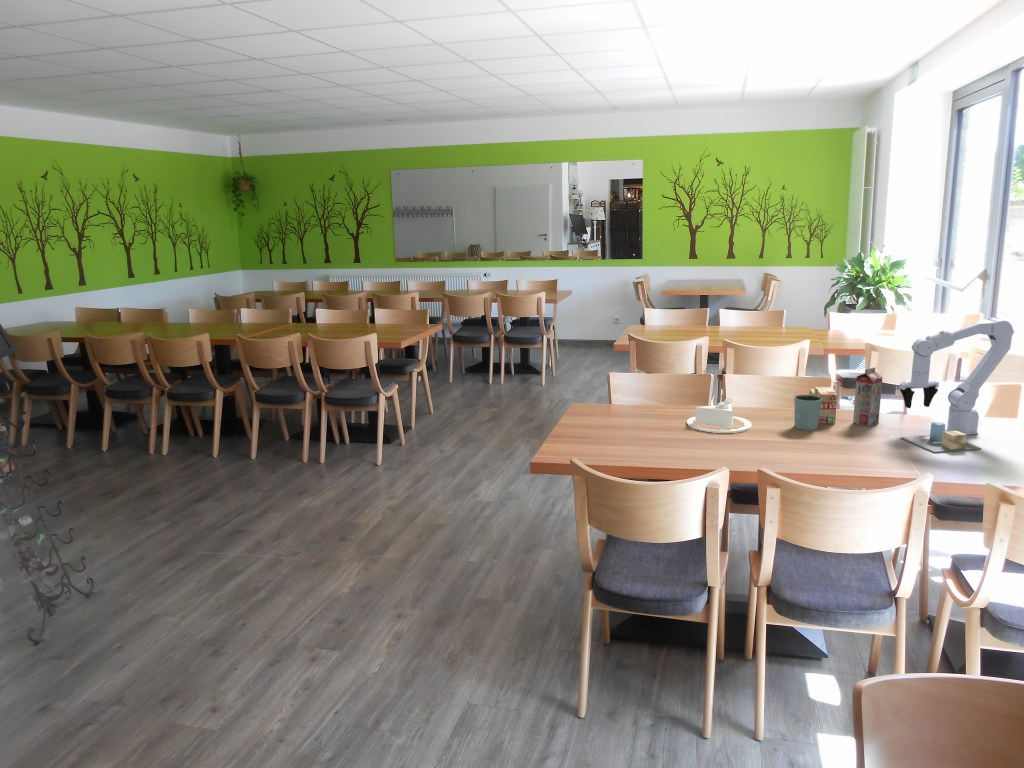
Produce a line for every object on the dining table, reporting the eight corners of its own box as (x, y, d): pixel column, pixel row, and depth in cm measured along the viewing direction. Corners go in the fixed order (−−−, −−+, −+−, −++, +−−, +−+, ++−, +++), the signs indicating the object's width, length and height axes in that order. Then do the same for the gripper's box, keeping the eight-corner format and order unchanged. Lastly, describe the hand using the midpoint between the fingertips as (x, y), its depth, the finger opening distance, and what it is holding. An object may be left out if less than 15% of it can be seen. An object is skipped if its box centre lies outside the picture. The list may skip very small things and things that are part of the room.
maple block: (954, 444, 268) (956, 430, 267) (965, 448, 263) (966, 434, 262) (941, 445, 267) (943, 431, 266) (952, 449, 262) (953, 435, 261)
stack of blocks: (808, 410, 320) (810, 381, 317) (823, 410, 318) (825, 381, 316) (818, 424, 299) (820, 393, 296) (835, 424, 298) (837, 393, 295)
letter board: (944, 435, 280) (944, 433, 280) (981, 449, 263) (981, 448, 263) (900, 438, 278) (900, 437, 278) (934, 453, 260) (934, 451, 260)
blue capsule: (937, 437, 276) (939, 421, 274) (946, 441, 271) (948, 425, 270) (926, 438, 275) (928, 422, 273) (935, 442, 270) (937, 426, 269)
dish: (746, 418, 310) (748, 391, 308) (755, 435, 286) (756, 406, 284) (685, 416, 315) (686, 390, 312) (688, 434, 291) (689, 405, 288)
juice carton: (878, 423, 297) (883, 368, 292) (868, 426, 293) (873, 370, 289) (862, 420, 302) (866, 366, 298) (852, 422, 299) (857, 368, 294)
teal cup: (791, 429, 292) (793, 399, 289) (792, 422, 301) (794, 393, 298) (820, 432, 288) (822, 401, 285) (820, 425, 297) (822, 395, 294)
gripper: (930, 368, 286) (927, 403, 289) (895, 370, 284) (892, 405, 287) (944, 372, 279) (940, 407, 282) (908, 374, 277) (904, 410, 280)
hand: (917, 407), depth 284 cm, fingers open, 7 cm apart
